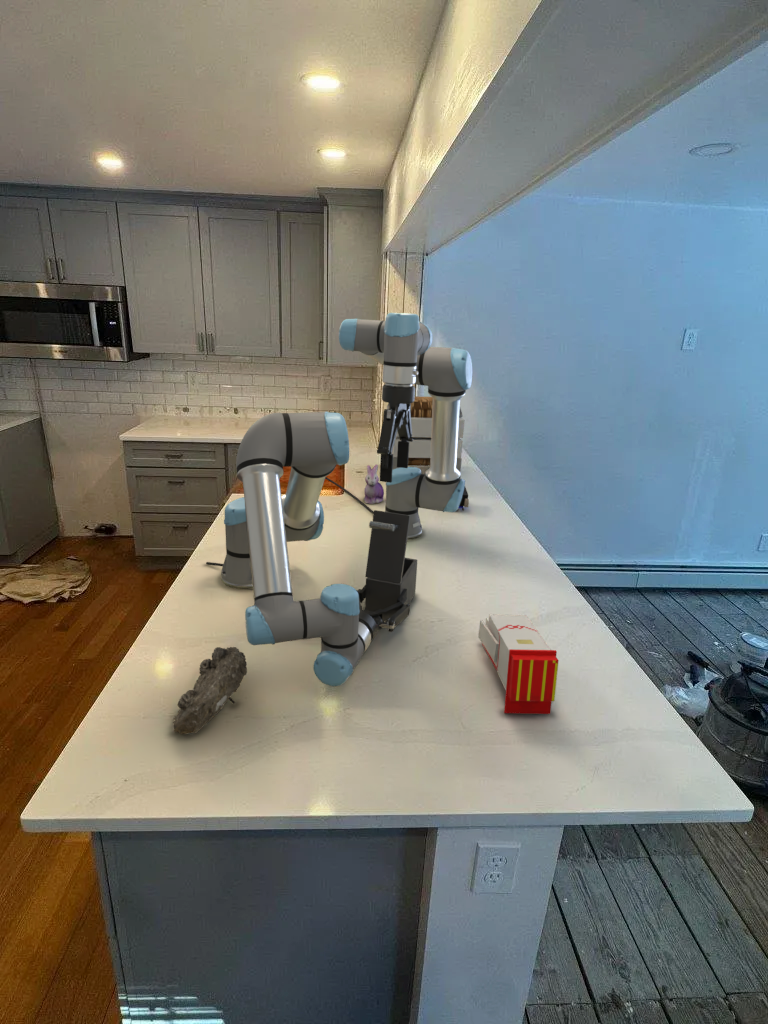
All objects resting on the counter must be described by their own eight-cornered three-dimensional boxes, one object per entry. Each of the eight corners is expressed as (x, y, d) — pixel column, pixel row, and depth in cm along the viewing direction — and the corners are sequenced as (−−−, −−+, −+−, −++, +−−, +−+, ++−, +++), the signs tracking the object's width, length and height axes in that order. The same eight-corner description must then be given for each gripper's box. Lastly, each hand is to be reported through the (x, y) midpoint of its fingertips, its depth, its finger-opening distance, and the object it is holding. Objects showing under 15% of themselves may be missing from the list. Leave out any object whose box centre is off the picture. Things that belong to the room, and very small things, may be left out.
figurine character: (468, 516, 224) (463, 500, 237) (471, 498, 221) (465, 483, 234) (452, 515, 224) (447, 499, 237) (453, 498, 220) (449, 482, 234)
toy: (524, 600, 137) (567, 656, 108) (520, 651, 140) (560, 720, 111) (474, 599, 137) (504, 655, 107) (471, 650, 140) (498, 719, 110)
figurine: (368, 505, 226) (369, 469, 221) (357, 498, 235) (358, 463, 230) (389, 503, 230) (391, 467, 225) (378, 495, 239) (379, 461, 234)
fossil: (197, 648, 121) (247, 617, 116) (228, 678, 124) (278, 648, 119) (149, 728, 102) (207, 694, 97) (187, 761, 105) (245, 730, 100)
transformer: (382, 463, 289) (386, 382, 275) (445, 464, 293) (451, 384, 279) (390, 482, 257) (394, 392, 243) (460, 483, 261) (468, 394, 247)
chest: (384, 588, 160) (385, 554, 156) (415, 594, 158) (417, 559, 154) (364, 616, 146) (365, 578, 142) (398, 623, 143) (400, 585, 139)
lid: (375, 510, 141) (364, 511, 133) (410, 515, 139) (401, 516, 130) (366, 576, 142) (354, 581, 134) (401, 582, 140) (391, 588, 131)
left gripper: (311, 638, 130) (347, 595, 150) (402, 659, 124) (427, 610, 144) (310, 609, 127) (347, 569, 147) (404, 629, 121) (429, 584, 141)
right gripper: (399, 392, 117) (394, 490, 124) (427, 380, 139) (422, 463, 147) (364, 389, 119) (361, 485, 126) (398, 377, 142) (394, 460, 149)
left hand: (387, 590), depth 146 cm, fingers closed on chest, 9 cm apart
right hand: (394, 474), depth 136 cm, fingers open, 13 cm apart
